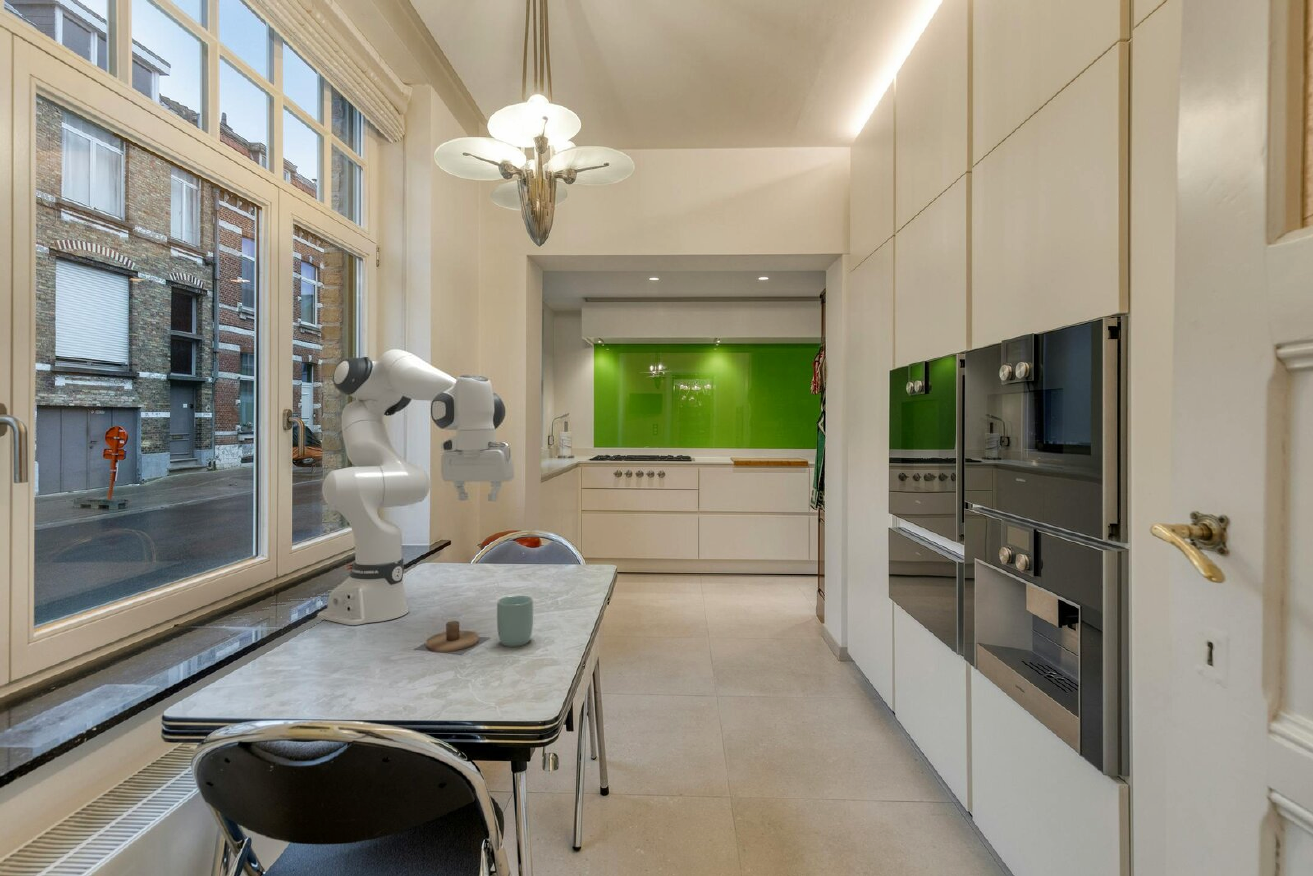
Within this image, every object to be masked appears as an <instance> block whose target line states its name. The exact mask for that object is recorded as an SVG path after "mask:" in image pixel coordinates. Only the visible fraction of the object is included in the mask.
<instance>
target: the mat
mask: <svg viewBox="0 0 1313 876" xmlns="http://www.w3.org/2000/svg"><path fill="white" fill-rule="evenodd" d="M490 639H491V637H486V636H481V635H480V636H479V642H478V643H477V644H476V645H475V646H473V647H471V648H468V649H465V650H460V651H455V652H438V653H439V654H441V653H442V654H449V655H456V656H457V655H458V656H463V655H464V654H466V653H467V652H469V651H471V650H473V649H474V648H476V647H478V646H480V644H483V643H484V642H486V641H488V640H490ZM413 650H414V651H422V652H423V651H424V652H432V653H435V652H434V651H431V650H428V649H427V647H426V642H425V643H423V644H420V645H419V646H417V647H415V648H413Z"/></svg>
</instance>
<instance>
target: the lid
mask: <svg viewBox="0 0 1313 876" xmlns="http://www.w3.org/2000/svg"><path fill="white" fill-rule="evenodd" d="M478 642H479V634H478V633H477V632H475V631H471V630H460V621H458V620H457V621H456V620H453V621H447V622H446V623H445V631H444V632H441V633H438V634H434V635H432V636H430V637H428V639H427V640H426V642H425V643H426V647H427V649H428V650H431V651H434V652H433V653H439V652H455V651H460V650H465V649H468V648H471V647H473V646H475V645H476V644H477V643H478Z"/></svg>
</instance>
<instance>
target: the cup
mask: <svg viewBox="0 0 1313 876" xmlns="http://www.w3.org/2000/svg"><path fill="white" fill-rule="evenodd" d="M496 626H497V628H496V629H497V635H498V640H499V642H500V644H502V645H503V646H504V647H511V648H514V647H522V646H525V645H527V644H528V643H529V642H530V640H531V638H532V635H533V629H534V628H533V626H534V599H533V598H532V597H531V596H528V595H509V596H504V597H502V598H499V599H498V600H497V602H496Z"/></svg>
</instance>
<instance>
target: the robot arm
mask: <svg viewBox="0 0 1313 876" xmlns="http://www.w3.org/2000/svg"><path fill="white" fill-rule="evenodd" d="M332 381H333V386H334V388H336V390H338V391H339V392H340V393H342V394H345V395H346V396H350V397H352V398H355V400H353V401H351V402H349V403H348V404H346V405H345V407H344V408H343V410H342V412H341V431H342V438H343V443H344V446H345V447H344V448H345V451H346V456H347V458H348V460H349V461H350V463H351V464H352V465H354V466H348V467H345V468H344V467H343V468H339V469H335V470H331V471H330V472H329V473H328V474H327V475H326V476H325V478H324V480H323V482H322V485H321V492H322V497H323V499H324V502H326V504H327V505H328V506H329V507H331V508H332V509H333V510H335V511H337V512H338V513H340V515H342V517H344V518H345V519H346V521H347V523H348V524H349V526H350V528H351V531H352V533H353V541H354V555H355V556H354V557H355V558H354V559H355V561H354V562H353V563H352V564H348V565H346V567H347V568H346V571H349V570H350V573H349V577H347V578H346V579H345V580H344V581H343V582H342V583H340V584H339V585H338V586H336V587H335V588H334V589H333V590H332V591H330V594H329V596H328V600H327V608H325V609H323V610H322V611H319V612H318V613H317V615H316V618H317V619H322V620H325V621H330V622H334V623H339V624H342V625H346V626H347V625H349V626H357V625H362V624H368V623H369V624H370V623H379V622H385V621H389V620H394V619H397V618H401V617H403V616H405V615H407V613H408V614H409V611H410V609H409V607H408V602H407V598H406V594H405V593H406V592H405V586H404V585H405V584H404V579H403V578H404V577H403V576H404V572H405V566H404V565H405V563H404V561H405V560H404V558H402V557H403V549H402V548H403V545H402V544H403V543H402V540H403V538H402V537H403V534H402V531H401V529H400V528H399V525H396V523H395V524H394V523H393V522H391V521H389V520H386V519H382V518H380V516H379V514H378V509H381V508H394V507H396V508H397V507H405V506H410V505H414V504H417V503H421V502H423V501H424V500H425V499H426V498H427V496H428V494H429V492H430V489H431V488H430V487H431V482H430V478H429V475H428V473H427V471H425V469H423V468H422V467H421V466H420V467H419V466H417V465H415V464H413V463H411V462H410V461H407V460H406V459H405V458H404V457H402V456H401V455H400V454H399V453H398V452H397V451H396V450H395V449H394V447H393V445H392V442H391V440H390V438H389V434H388V431H387V427H386V424H385V421H384V416H389V417H391V416H393V415H395V414H396V413H399V412H400V411H403V410H404V409H405V408H407V407H408V406H409V404H410V403H411V402H412V400H415V401H431V406H430V416H431V419H432V421H433V423H434V424H435V425H436V426H437V427H438V428H439V429H440V430H447V431H456V432H455V433H456V435H454V436H452V437H450V438H448V439H446V440H444V441H441V444H440V450H441V451H442V452H443V453H442V454H441V457H440V476H441V477H442V479H443V481H444V482H453V487H454V489H455V490H456V493H457V497H458V501H467V500H468V499H469V497H468V496H469V492H466V490H465V488H464V486H465V485H466V484H465V483H466V482H467V483H468V482H469V483H470V482H473V483H474V482H475V483H477V482H478V483H479V482H480V483H484V482H486V483H490V487H491V490H490V493H487V501H488V502H497V501H498V499H499V498H498V497H499V495H498V494H499V492H500V490H501V488H502V486H503V485H502V483H505V482H511V481H513V479H514V478H515V470H514V462H513V457H512V456H513V455H512V450H511V447H510V445H508V444H507V442H505V441H500V442H496V430H497V429H498V428H499V427H500V426H501V424H502V423H503V422H504V419H505V417H506V406H505V404H504V401H503V400H502V398H501V397H500V396H499V395H498V394H497V393H495V392H494V390H493V386H492V383H491V380H490V379H489V378H488V377H485V376H481V375H469V374H463V375H459V376H458V377H453V376H452V375H449V374H448V373H446V372H444V371H442V370H440V369H438V368H436V367H435V366H433V365H432V364H430V363H428V362H427V361H425V360H423V359H421V358H420V357H418V356H417V355H415V354H413V353H411V352H409V351H406V350H403V349H397V348H396V349H395V348H392V349H390V350H387V351H385V352H384V353H383V354H382V355H381V356H380V357H379V359H378V360H376V361H373V360H372V359H370V358H369V357H368V356H362V357H353V356H351V357H348V358H345V359H343V360H341V361H339V363H338V364H337V365H336V368H335V369H334V372H333V375H332Z"/></svg>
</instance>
